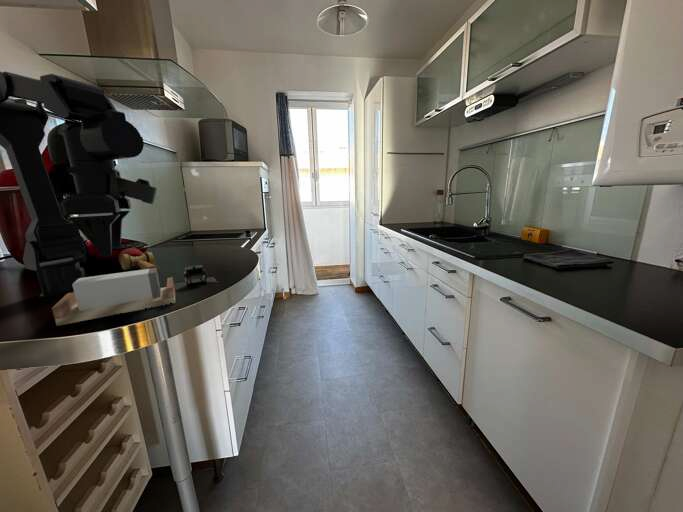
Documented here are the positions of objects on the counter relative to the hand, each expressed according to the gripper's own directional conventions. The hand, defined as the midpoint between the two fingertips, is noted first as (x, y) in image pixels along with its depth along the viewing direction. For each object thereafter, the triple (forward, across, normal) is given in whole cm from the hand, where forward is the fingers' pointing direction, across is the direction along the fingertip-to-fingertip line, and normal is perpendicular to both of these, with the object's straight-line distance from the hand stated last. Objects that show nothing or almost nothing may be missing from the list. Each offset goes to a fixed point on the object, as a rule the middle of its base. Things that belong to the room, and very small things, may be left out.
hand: (112, 251), depth 50 cm
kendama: (+11, +29, 0) cm, 31 cm away
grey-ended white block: (+10, 0, 0) cm, 10 cm away
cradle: (+11, 0, 0) cm, 11 cm away
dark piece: (+12, +8, -13) cm, 19 cm away
